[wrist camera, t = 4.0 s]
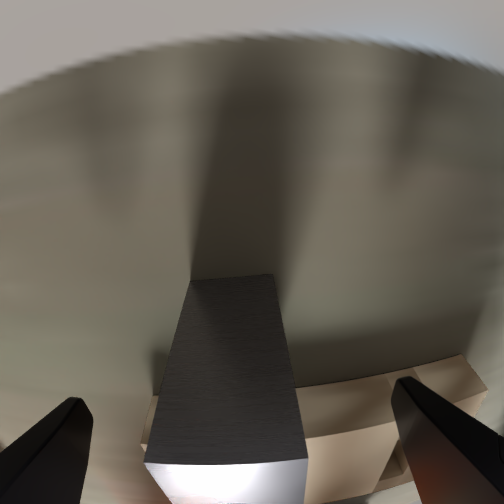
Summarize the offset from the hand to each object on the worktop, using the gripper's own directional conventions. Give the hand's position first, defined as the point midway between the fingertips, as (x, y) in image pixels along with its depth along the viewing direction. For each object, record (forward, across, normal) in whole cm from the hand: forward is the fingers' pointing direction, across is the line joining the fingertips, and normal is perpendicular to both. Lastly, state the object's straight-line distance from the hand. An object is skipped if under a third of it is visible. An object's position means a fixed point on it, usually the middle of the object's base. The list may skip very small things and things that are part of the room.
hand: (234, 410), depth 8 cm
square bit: (+5, 0, 0) cm, 5 cm away
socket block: (+5, -4, +8) cm, 10 cm away
